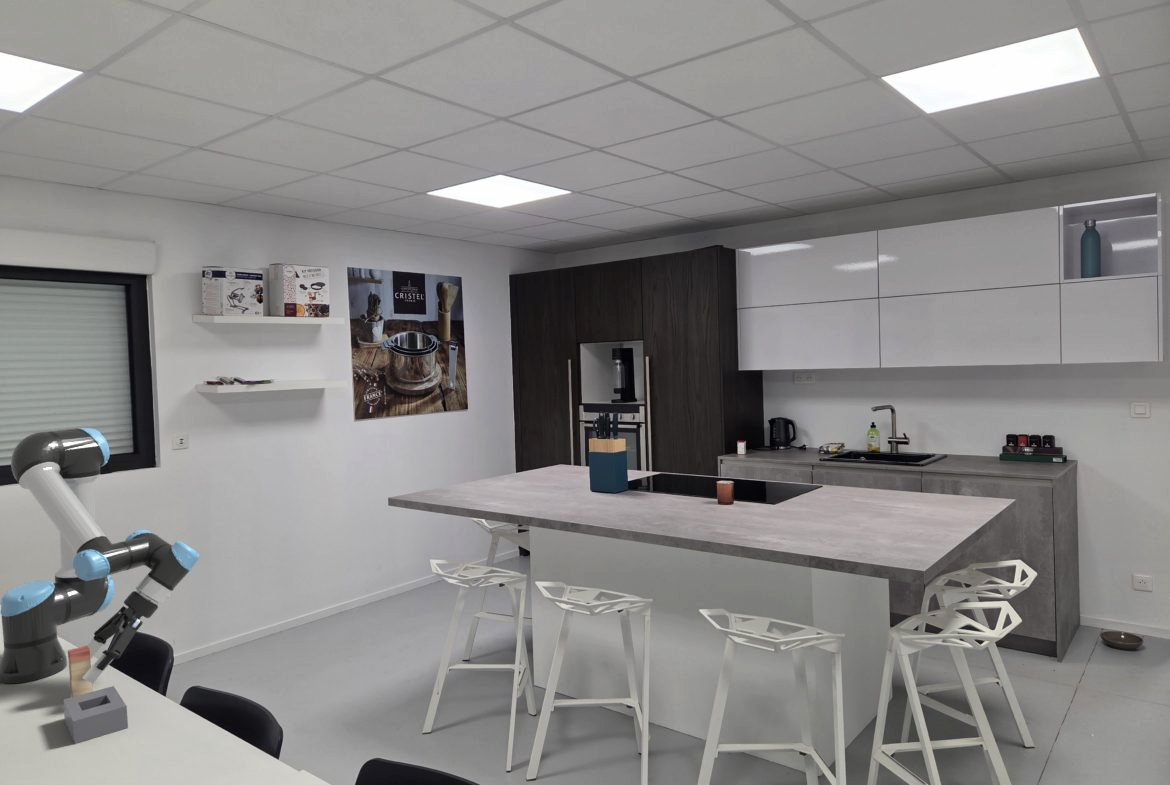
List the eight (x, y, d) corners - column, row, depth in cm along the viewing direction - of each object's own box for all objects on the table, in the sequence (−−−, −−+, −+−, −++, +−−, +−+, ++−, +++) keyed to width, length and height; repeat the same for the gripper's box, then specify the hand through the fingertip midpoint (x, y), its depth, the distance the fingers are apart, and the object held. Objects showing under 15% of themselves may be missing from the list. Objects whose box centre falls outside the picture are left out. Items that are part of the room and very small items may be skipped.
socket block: (64, 720, 174) (63, 699, 174) (114, 706, 181) (113, 685, 180) (74, 744, 163) (73, 721, 163) (128, 727, 169) (126, 706, 169)
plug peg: (71, 697, 186) (67, 650, 186) (90, 692, 189) (87, 645, 189) (73, 702, 183) (70, 654, 183) (92, 697, 186) (89, 649, 186)
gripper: (171, 616, 188) (105, 695, 178) (147, 595, 206) (87, 665, 197) (146, 600, 184) (77, 680, 174) (124, 580, 202) (61, 651, 193)
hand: (82, 672), depth 186 cm, fingers open, 13 cm apart
